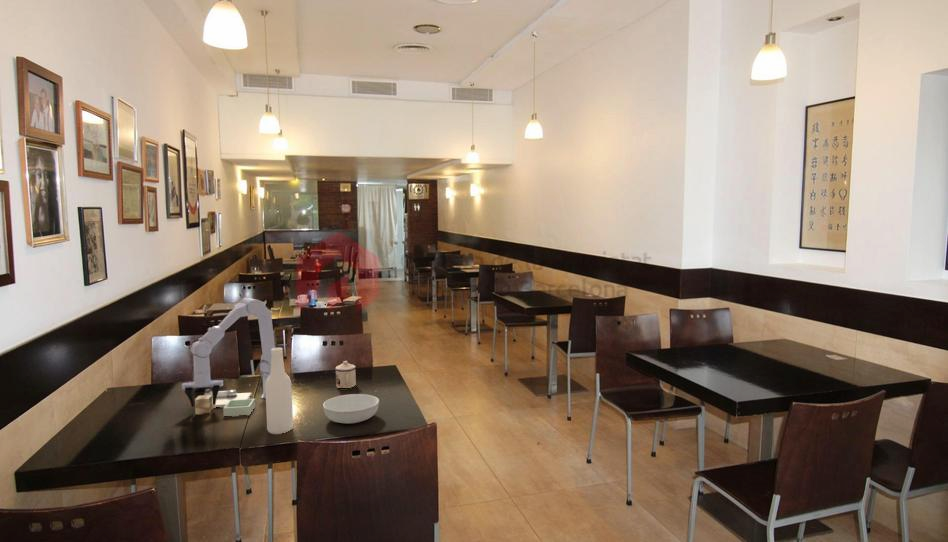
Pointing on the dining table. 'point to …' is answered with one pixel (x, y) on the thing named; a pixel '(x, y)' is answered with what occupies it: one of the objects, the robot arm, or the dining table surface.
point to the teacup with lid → (345, 375)
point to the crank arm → (222, 393)
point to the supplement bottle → (201, 387)
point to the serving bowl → (351, 408)
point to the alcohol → (278, 396)
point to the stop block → (203, 404)
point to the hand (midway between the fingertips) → (203, 405)
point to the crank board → (224, 400)
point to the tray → (239, 407)
